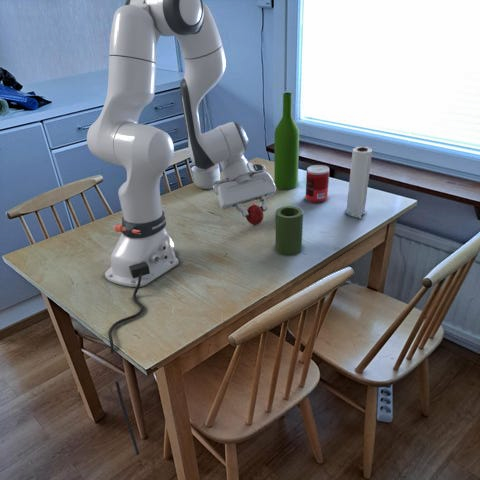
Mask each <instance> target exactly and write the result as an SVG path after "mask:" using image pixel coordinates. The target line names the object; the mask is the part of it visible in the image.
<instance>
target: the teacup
mask: <svg viewBox="0 0 480 480" xmlns="http://www.w3.org/2000/svg"><path fill="white" fill-rule="evenodd" d="M190 170H191V174H192V175H191V176H192V179H193V183H194V185H195V186H196V187H198V188H200V189H201V190H211V189H213V184H214V183H215V182H216V181H220V180H221V173H220V172H221V169H220V163H218V164H215V165H214V166H212V167H210V168H209V169H207V170H204V169H201V168H198V167H196V166H194V165H193V166H191V167H190ZM215 185H216V184H215Z"/></svg>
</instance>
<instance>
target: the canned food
mask: <svg viewBox="0 0 480 480" xmlns="http://www.w3.org/2000/svg"><path fill="white" fill-rule="evenodd" d="M305 180H306V181H305V199H306V201H307V202H309V203H313V204H319V203H323V202H325V201H327V199H328V194H329V193H328V192H329V181H330V167H329V166H327V165H324V164H314V165H310V166H308V167H307V168H306V179H305Z"/></svg>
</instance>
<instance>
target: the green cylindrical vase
mask: <svg viewBox="0 0 480 480" xmlns="http://www.w3.org/2000/svg"><path fill="white" fill-rule="evenodd" d="M303 223H304V210H303V209H302V208H301V207H298V206H295V205H286V206H285V205H284V206H281V207H279V208H277V209H276V210H275V251H276V252H277V253H278V254H280V255H284V256H293V255H297V254H299V253H300V252H301V251H302V248H303V229H304V228H303V227H304V226H303V225H304V224H303Z"/></svg>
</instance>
